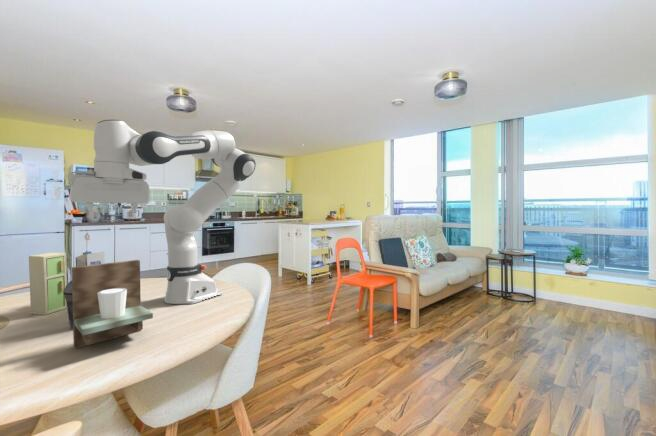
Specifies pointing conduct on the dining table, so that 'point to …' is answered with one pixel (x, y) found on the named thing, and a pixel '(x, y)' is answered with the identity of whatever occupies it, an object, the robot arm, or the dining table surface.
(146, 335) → the dining table surface
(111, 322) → the wall shelf
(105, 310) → the white cup
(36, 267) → the toy refrigerator
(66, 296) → the beverage cup
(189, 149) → the robot arm
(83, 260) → the milk carton
